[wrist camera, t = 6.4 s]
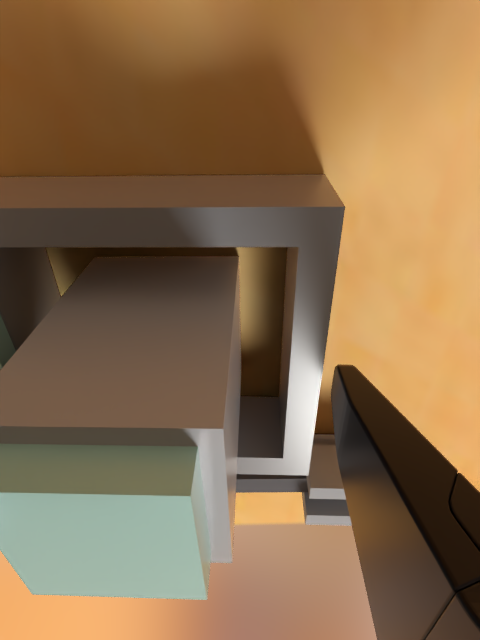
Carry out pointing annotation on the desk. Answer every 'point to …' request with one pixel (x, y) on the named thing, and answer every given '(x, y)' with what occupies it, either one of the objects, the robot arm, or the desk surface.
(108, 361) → the block
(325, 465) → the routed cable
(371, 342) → the desk surface
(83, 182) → the frame
